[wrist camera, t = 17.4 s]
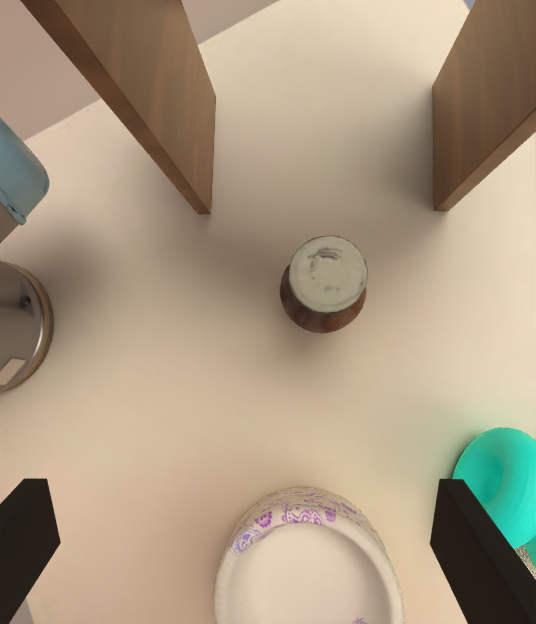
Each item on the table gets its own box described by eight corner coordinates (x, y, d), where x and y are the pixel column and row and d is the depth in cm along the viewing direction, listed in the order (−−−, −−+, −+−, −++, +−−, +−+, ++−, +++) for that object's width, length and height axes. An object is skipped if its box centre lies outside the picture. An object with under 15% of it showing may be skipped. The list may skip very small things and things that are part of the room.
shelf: (198, 214, 39) (-209, -273, 8) (203, 96, 41) (-136, -723, 9) (448, 211, 37) (1293, -554, 5) (446, 85, 38) (1133, -1153, 6)
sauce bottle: (311, 263, 38) (318, 178, 18) (360, 296, 37) (424, 245, 17) (275, 313, 38) (244, 281, 18) (324, 347, 37) (346, 354, 17)
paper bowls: (308, 442, 36) (309, 470, 28) (416, 563, 34) (449, 629, 26) (201, 541, 36) (173, 596, 28) (302, 666, 34) (301, 763, 26)
